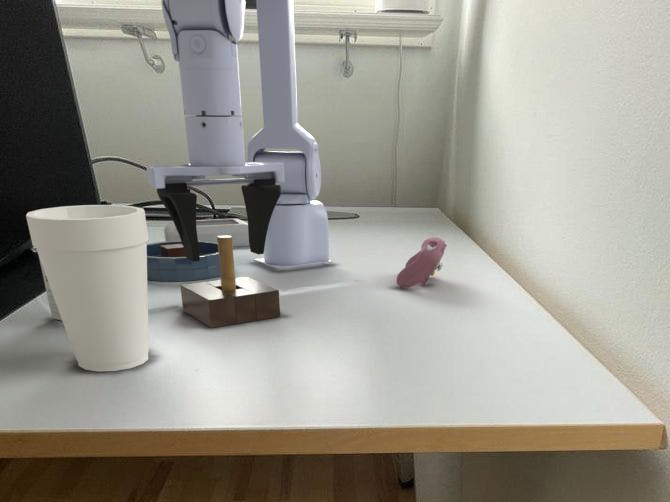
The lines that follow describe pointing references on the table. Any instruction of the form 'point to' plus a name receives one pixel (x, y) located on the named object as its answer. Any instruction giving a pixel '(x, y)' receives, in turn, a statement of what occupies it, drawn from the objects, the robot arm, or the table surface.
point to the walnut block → (173, 250)
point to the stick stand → (230, 302)
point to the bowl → (182, 263)
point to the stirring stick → (226, 262)
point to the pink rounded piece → (422, 263)
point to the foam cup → (97, 280)
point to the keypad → (214, 231)
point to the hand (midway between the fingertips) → (225, 256)
